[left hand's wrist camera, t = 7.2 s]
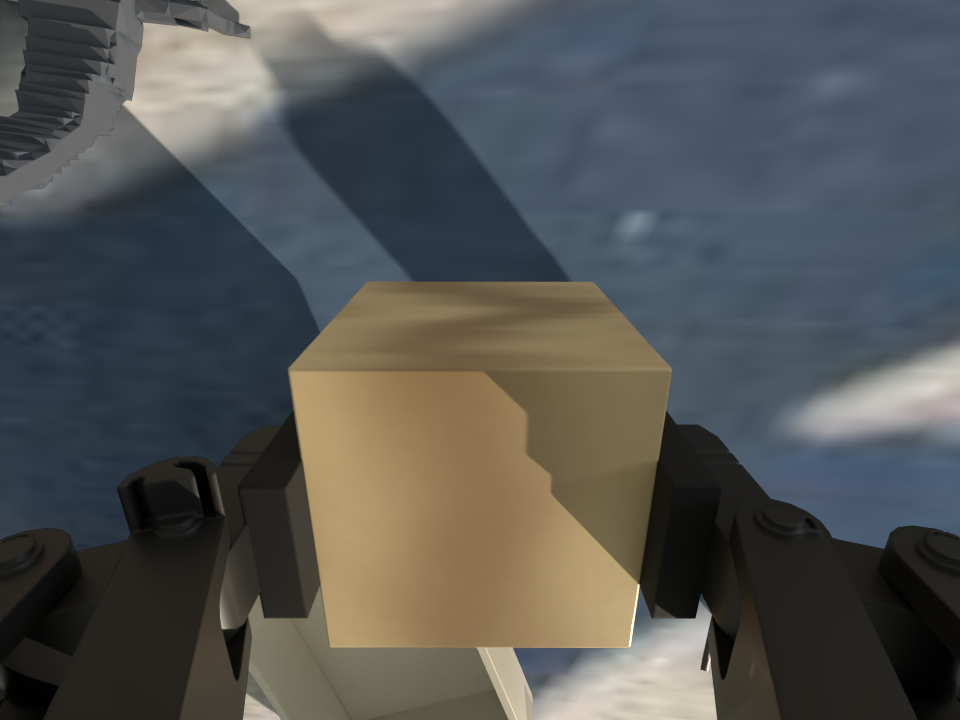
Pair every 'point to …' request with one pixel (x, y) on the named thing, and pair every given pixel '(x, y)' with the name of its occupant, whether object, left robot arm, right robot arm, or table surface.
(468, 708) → the box
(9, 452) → the table surface
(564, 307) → the block
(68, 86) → the toy
